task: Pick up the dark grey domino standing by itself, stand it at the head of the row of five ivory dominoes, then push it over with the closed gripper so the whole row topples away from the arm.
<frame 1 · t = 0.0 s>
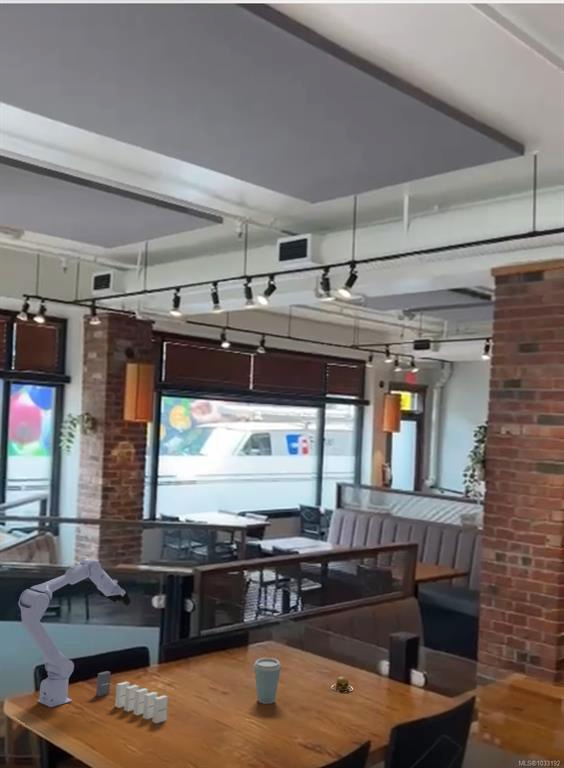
hand: (122, 601, 302), 32 cm above the table, tool tilted 50°, fingers open, 7 cm apart
tile4: (140, 713, 271), on the table
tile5: (149, 717, 268), on the table
disposable coffee cup: (265, 701, 292), on the table
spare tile: (102, 694, 288), on the table
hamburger: (342, 691, 312), on the table
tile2: (121, 705, 278), on the table
tile3: (130, 709, 274), on the table
tile6: (159, 720, 265), on the table
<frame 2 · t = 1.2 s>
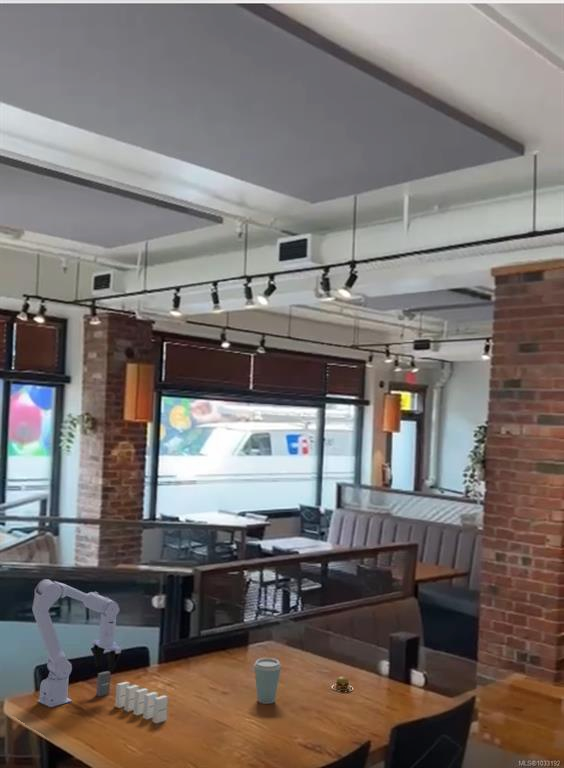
hand: (104, 668, 289), 9 cm above the table, tool pointing down, fingers open, 7 cm apart
nothing on the table moved.
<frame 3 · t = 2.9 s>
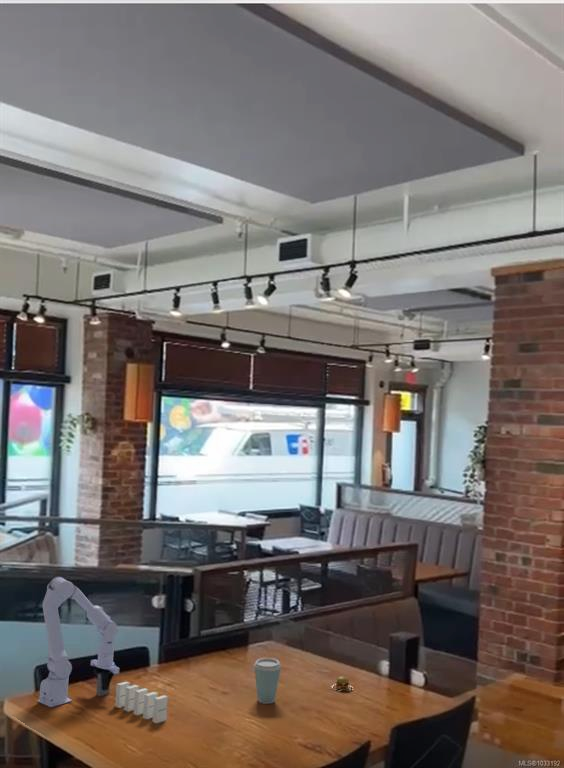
hand: (103, 688, 288), 2 cm above the table, tool pointing down, fingers closed on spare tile, 2 cm apart
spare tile: (102, 694, 288), on the table, touching gripper
everything else where it was.
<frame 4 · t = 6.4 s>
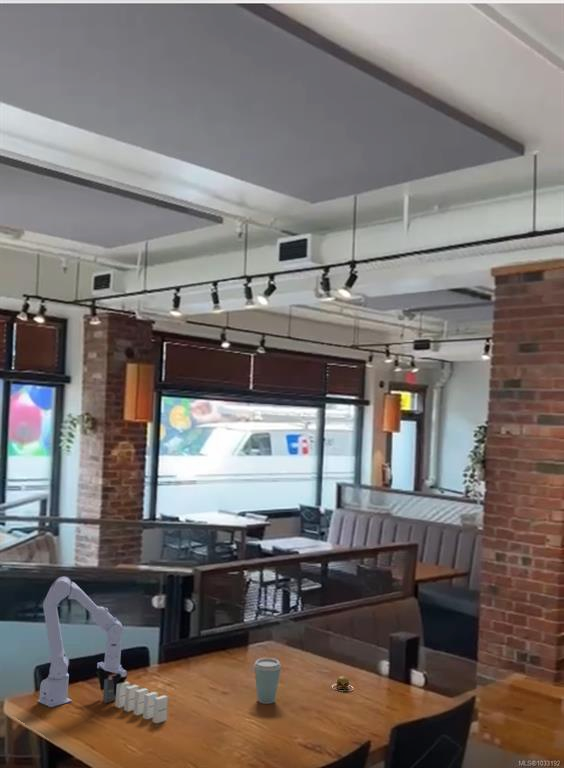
hand: (109, 692, 282), 3 cm above the table, tool pointing down, fingers open, 7 cm apart
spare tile: (109, 700, 282), on the table
everything else where it was.
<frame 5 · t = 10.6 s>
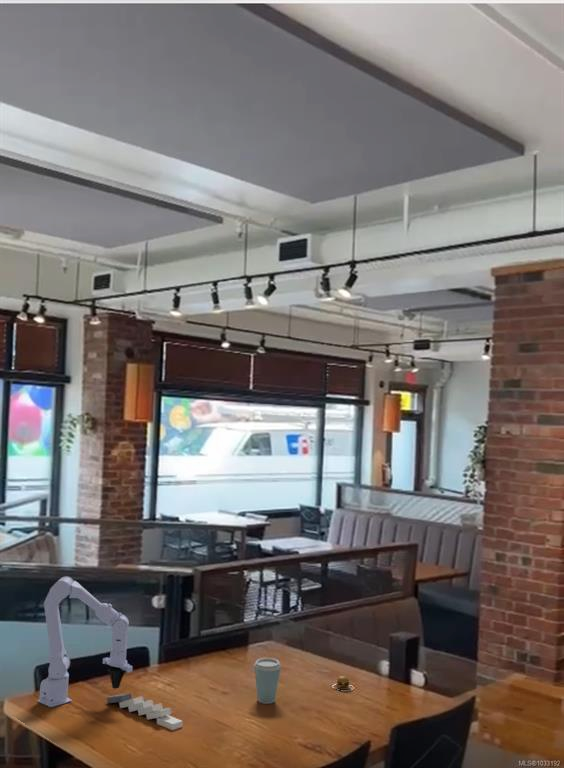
hand: (115, 687, 280), 5 cm above the table, tool pointing down, fingers closed
tile4: (143, 711, 271), point 1 cm above the table, tilted 65°, touching tile3, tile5
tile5: (151, 715, 268), point 1 cm above the table, tilted 68°, touching tile4
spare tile: (112, 699, 281), point 1 cm above the table, tilted 72°, touching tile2
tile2: (124, 704, 277), point 1 cm above the table, tilted 66°, touching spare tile, tile3
tile3: (133, 707, 274), point 1 cm above the table, tilted 65°, touching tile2, tile4
tile6: (161, 719, 264), point 1 cm above the table, tilted 89°
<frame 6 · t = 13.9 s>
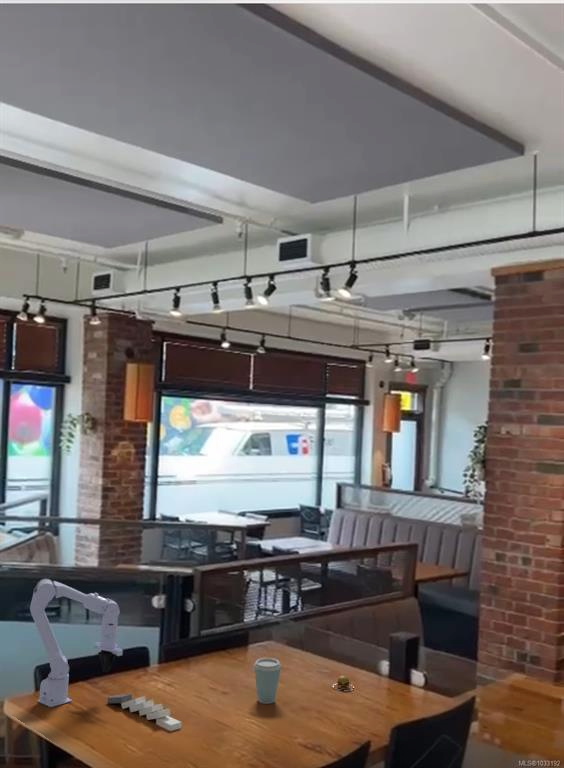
hand: (106, 671, 284), 10 cm above the table, tool pointing down, fingers closed
at the end: tile6 tilted 89°; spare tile tilted 74° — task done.
